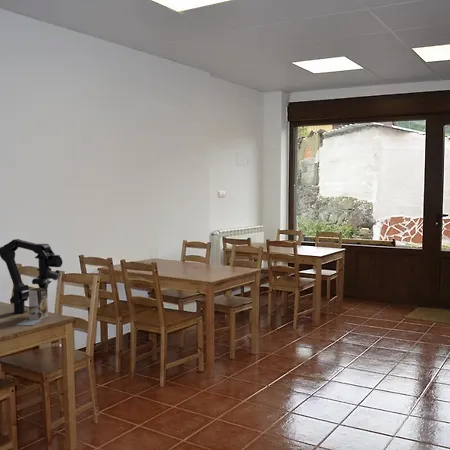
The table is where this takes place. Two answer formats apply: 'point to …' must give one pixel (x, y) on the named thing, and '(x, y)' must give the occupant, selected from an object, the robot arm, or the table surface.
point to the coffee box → (38, 303)
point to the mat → (28, 322)
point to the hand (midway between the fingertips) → (44, 294)
